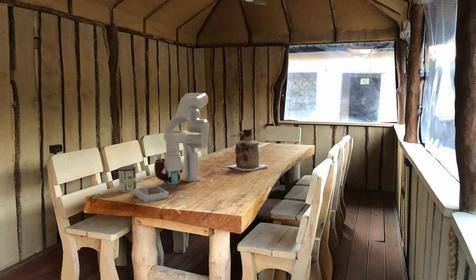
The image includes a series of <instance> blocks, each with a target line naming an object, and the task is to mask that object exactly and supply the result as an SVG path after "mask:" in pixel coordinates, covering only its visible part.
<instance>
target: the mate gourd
mask: <svg viewBox="0 0 476 280" xmlns="http://www.w3.org/2000/svg"><path fill="white" fill-rule="evenodd" d="M155 157H156V158H157V159H155V160H154V174H155V176H156V178H157V179H158V180H161V181H163V182H162V183H158V184H156V185H155V186H159V187H160V188H163V189H164V190H165V189H173V188H175V187H176V186H177V184H170V183H169V182H168V177H167V175H165V174H164V173H162V171H163V169H164V161H165V157H164V158H162V157H161V155H158V154H155ZM165 172H166V173H167V171H165Z"/></svg>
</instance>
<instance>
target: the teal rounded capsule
mask: <svg viewBox="0 0 476 280" xmlns="http://www.w3.org/2000/svg"><path fill="white" fill-rule="evenodd" d="M170 177H171V183H170V184H175V185H178V183H179V181H178V172H177V171H174V172H171V175H170Z"/></svg>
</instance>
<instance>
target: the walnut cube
mask: <svg viewBox="0 0 476 280" xmlns="http://www.w3.org/2000/svg"><path fill="white" fill-rule="evenodd" d="M157 193H160V189H159V188H157V187H153V188H148V195H151V194H157Z"/></svg>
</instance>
